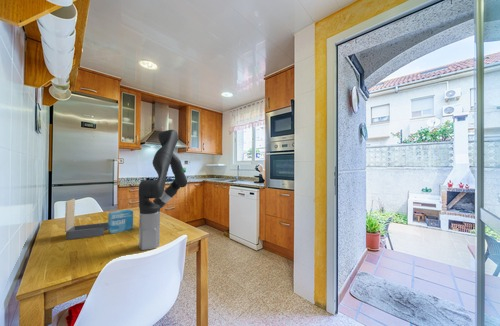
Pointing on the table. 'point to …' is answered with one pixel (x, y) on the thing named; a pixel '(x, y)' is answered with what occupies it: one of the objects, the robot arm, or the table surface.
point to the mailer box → (80, 230)
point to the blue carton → (120, 221)
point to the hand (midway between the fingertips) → (141, 219)
